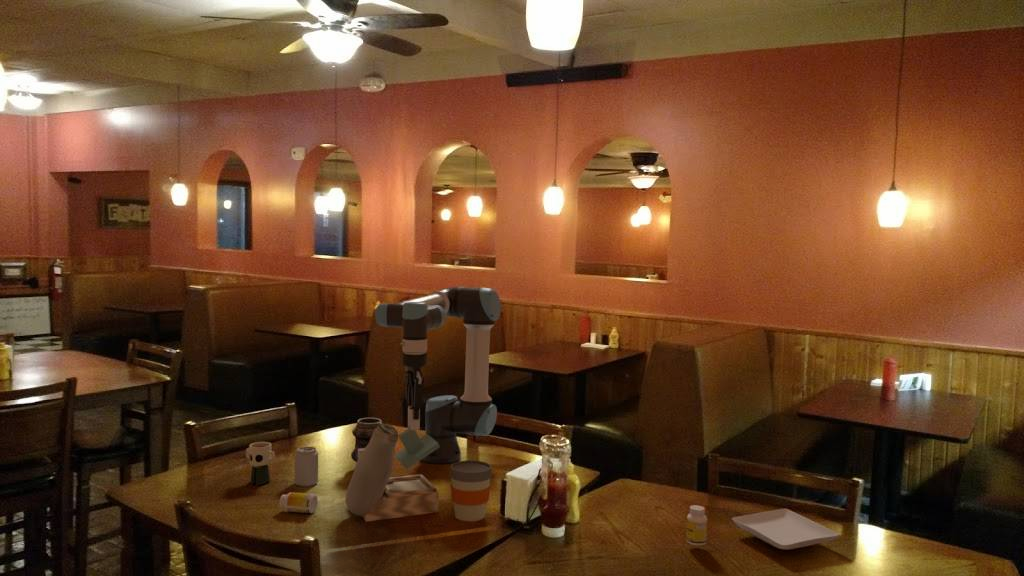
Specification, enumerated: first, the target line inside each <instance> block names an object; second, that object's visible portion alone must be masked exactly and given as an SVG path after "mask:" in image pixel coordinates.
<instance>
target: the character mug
mask: <svg viewBox="0 0 1024 576" xmlns="http://www.w3.org/2000/svg"><path fill="white" fill-rule="evenodd" d="M275 453H276V452H275V451H273V450H272V443H271V442H268V441H257V442H253V443H250V444H249V445H248V447H247V448H246V449H245V457H246V459H248V463H249V465H251V466H252V468H251V474H250V480H249V481H250V484H252V485H254V482H255V485H257V486H258V485H265V484H267V483H268V482H270V481H271V474H270V468H269V464H271V463H272V462H274V461H275V459H276V458H275V457H276V455H275Z"/></svg>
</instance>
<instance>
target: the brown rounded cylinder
mask: <svg viewBox="0 0 1024 576" xmlns="http://www.w3.org/2000/svg"><path fill="white" fill-rule="evenodd" d="M398 435H399V432H398V431H397V429H396V428H395V427H394V426H392V425H390V424H389V423H382V424H380V425H378V426H377V427H376V428H375V430H374V431H373V434H372V437H371V440H370V442H369V444H368V445H367V446H366V448H365V449H364V451H363V452H362V454H361V455H360V457H359V459H358V461H357V462H356V464H355V466H354V470H353V473H352V475H351V479H350V481H349V484H348V487H347V489H346V493H345V505H346V508H347V509H348V511H349V512H350V513H352V514H354V515H355V516H358V517H362V516H365V515H366V514H368V513H370V512H371V511H372V510H373V508H374V507H375V505H376V503H377V501H378V500H379V499H381V498H382V495H383V493H384V490H385V488H386V485H387V483H388V480H389V478H391V474H392V472H393V468H394V464H395V463H394V462H395V450H396V445H397V443H398V441H399V436H398Z"/></svg>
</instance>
